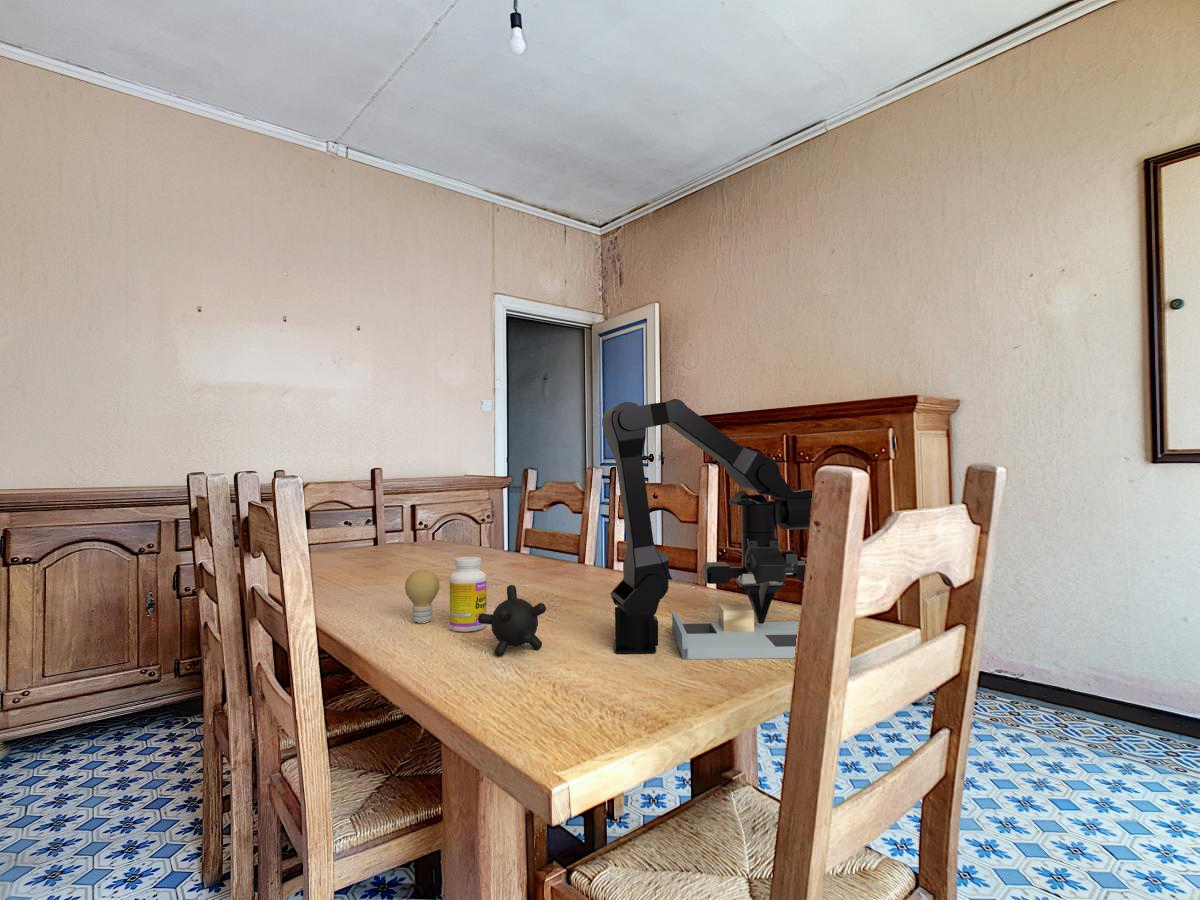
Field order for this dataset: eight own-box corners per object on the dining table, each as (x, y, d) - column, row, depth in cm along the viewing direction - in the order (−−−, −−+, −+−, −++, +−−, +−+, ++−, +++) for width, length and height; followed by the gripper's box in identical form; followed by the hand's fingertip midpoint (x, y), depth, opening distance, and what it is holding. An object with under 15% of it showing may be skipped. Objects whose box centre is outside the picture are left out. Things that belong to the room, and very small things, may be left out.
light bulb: (405, 619, 119) (404, 568, 119) (439, 616, 121) (438, 566, 121) (405, 627, 113) (404, 573, 113) (440, 624, 114) (440, 571, 115)
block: (723, 632, 101) (723, 610, 101) (718, 624, 106) (718, 603, 106) (754, 631, 101) (753, 610, 101) (747, 623, 106) (746, 603, 106)
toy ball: (482, 648, 89) (458, 611, 99) (524, 684, 94) (497, 645, 105) (534, 595, 92) (505, 564, 102) (572, 633, 97) (541, 600, 107)
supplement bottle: (478, 634, 107) (477, 561, 108) (443, 632, 109) (442, 560, 109) (492, 624, 114) (491, 555, 114) (459, 623, 115) (458, 555, 116)
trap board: (682, 659, 92) (682, 635, 92) (672, 632, 107) (671, 611, 107) (835, 657, 92) (834, 633, 92) (803, 630, 107) (802, 609, 107)
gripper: (711, 537, 95) (713, 637, 95) (831, 535, 95) (833, 635, 95) (701, 529, 107) (702, 619, 106) (807, 528, 106) (810, 617, 106)
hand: (760, 623), depth 103 cm, fingers closed
